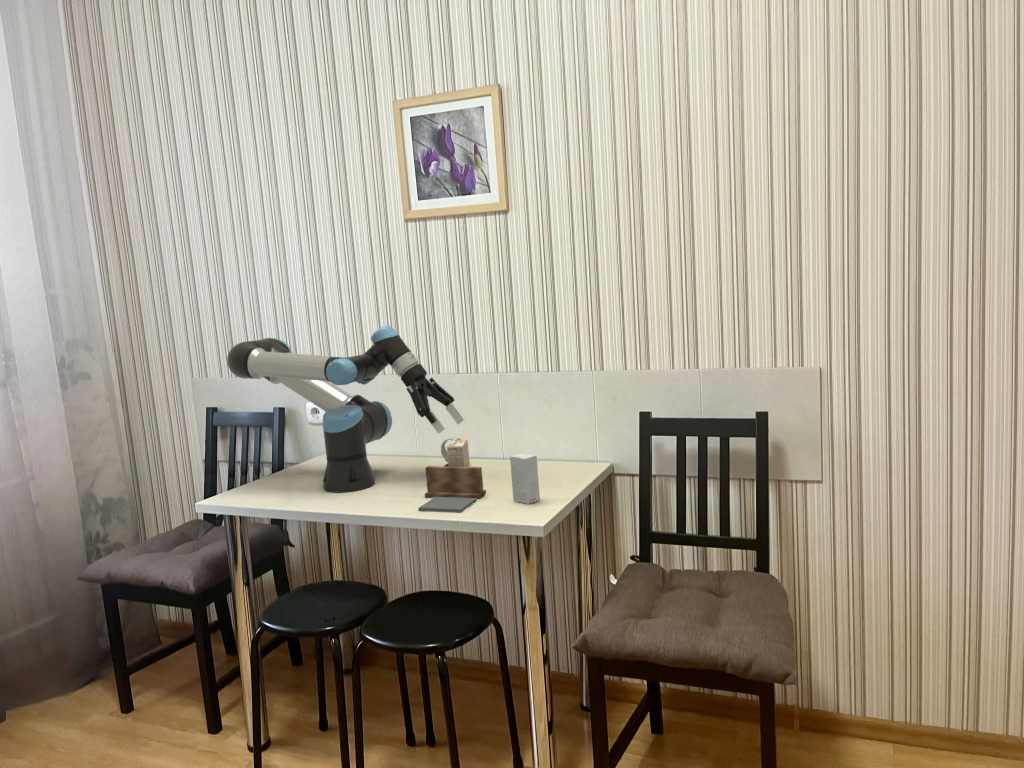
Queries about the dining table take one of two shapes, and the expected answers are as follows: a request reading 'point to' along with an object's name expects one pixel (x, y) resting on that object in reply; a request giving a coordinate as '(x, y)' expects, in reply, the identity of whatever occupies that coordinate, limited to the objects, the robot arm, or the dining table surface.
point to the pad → (447, 504)
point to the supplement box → (458, 453)
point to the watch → (443, 450)
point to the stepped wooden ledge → (454, 482)
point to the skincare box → (525, 478)
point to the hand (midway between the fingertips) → (452, 426)
